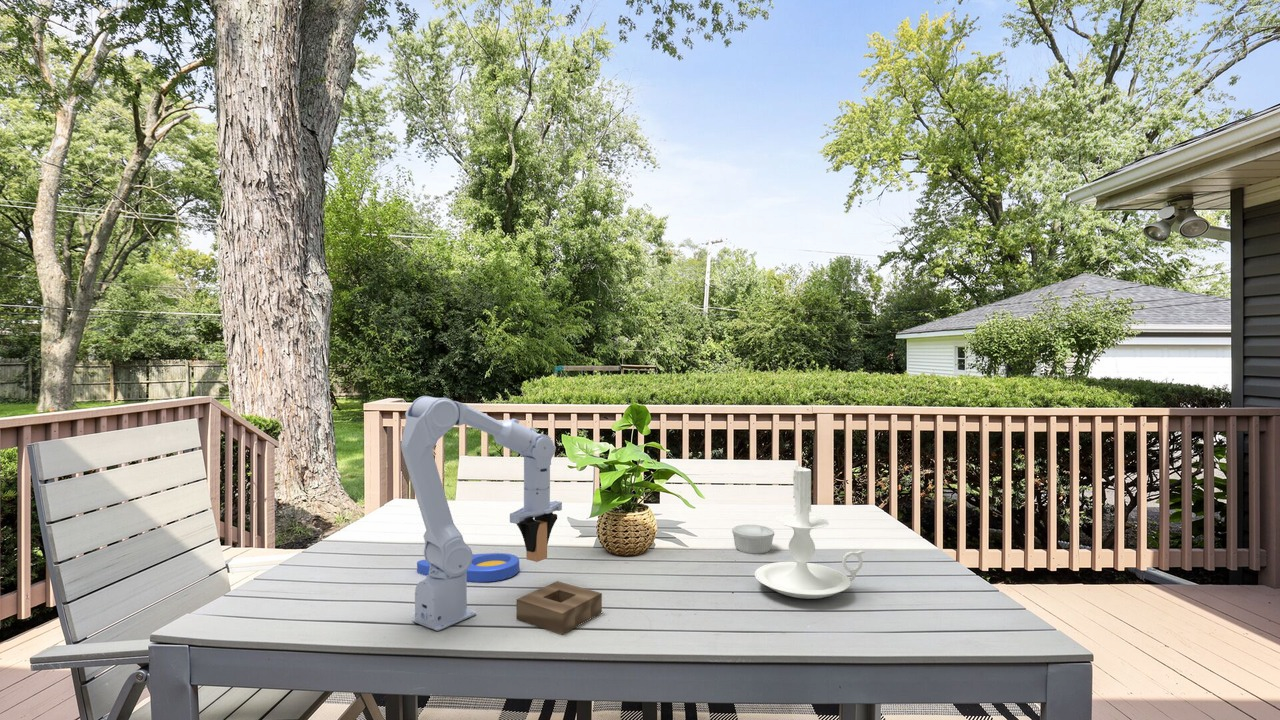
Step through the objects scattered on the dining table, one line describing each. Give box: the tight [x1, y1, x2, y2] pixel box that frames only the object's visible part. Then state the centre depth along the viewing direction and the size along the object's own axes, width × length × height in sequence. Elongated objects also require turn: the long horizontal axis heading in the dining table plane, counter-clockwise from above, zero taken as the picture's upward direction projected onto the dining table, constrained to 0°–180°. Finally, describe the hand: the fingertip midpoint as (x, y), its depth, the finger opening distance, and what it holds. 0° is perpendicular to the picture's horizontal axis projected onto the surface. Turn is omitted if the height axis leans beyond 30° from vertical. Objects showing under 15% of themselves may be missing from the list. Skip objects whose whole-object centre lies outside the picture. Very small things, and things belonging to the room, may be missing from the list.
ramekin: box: [731, 524, 775, 555], centre depth 167 cm, size 11×11×5 cm
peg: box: [525, 520, 548, 563], centre depth 135 cm, size 3×3×8 cm
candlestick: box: [754, 465, 865, 600], centre depth 136 cm, size 21×25×28 cm
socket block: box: [515, 580, 603, 635], centre depth 122 cm, size 12×12×4 cm
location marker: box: [416, 552, 520, 583], centre depth 148 cm, size 13×3×25 cm
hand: (536, 549), depth 135 cm, fingers closed on peg, 3 cm apart
